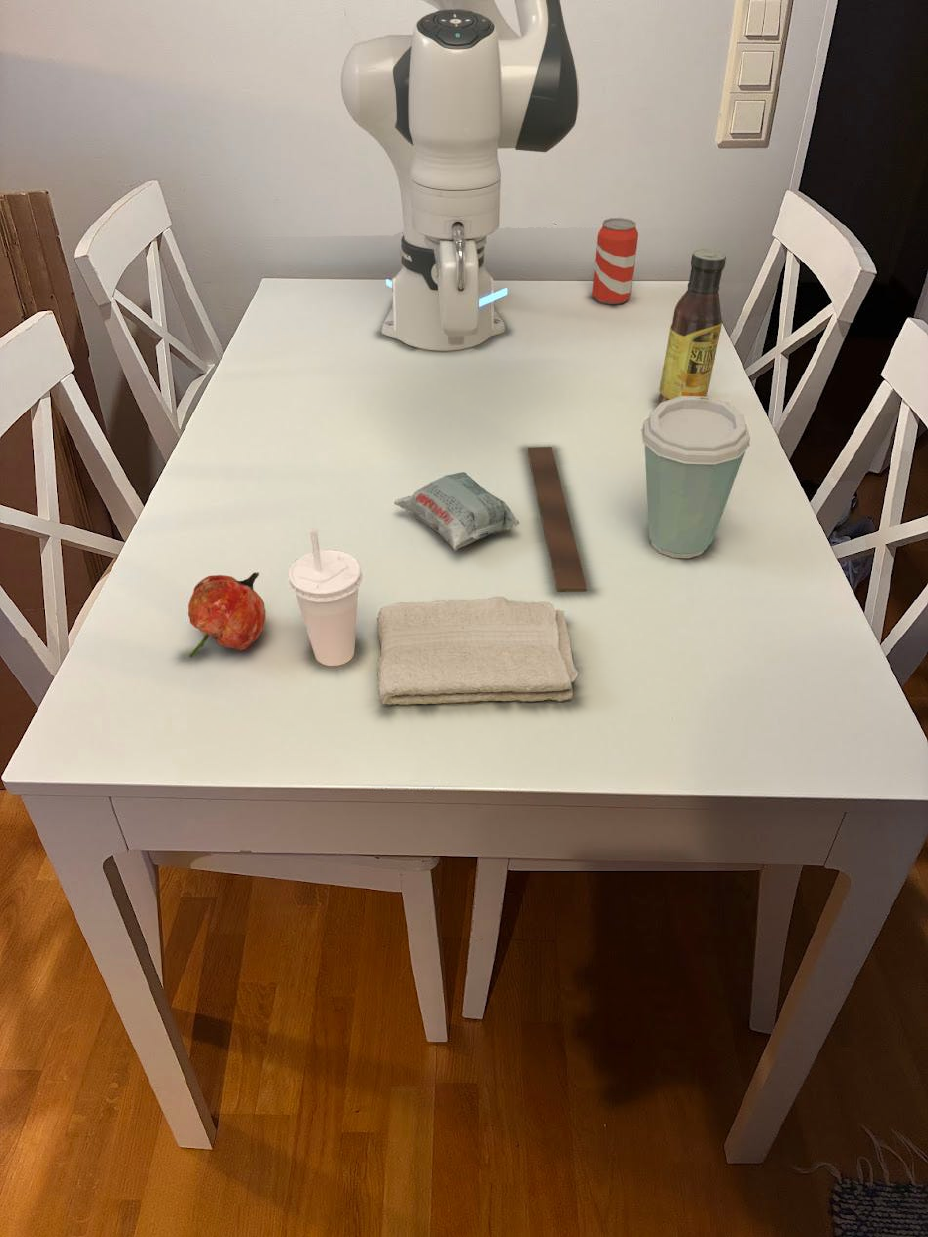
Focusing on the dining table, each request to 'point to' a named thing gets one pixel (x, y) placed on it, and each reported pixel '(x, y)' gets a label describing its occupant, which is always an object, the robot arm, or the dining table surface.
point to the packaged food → (459, 509)
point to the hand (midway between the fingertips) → (455, 339)
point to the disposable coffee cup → (690, 470)
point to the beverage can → (615, 261)
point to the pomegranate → (227, 611)
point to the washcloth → (473, 652)
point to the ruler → (556, 521)
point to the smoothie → (328, 601)
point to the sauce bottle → (694, 330)
